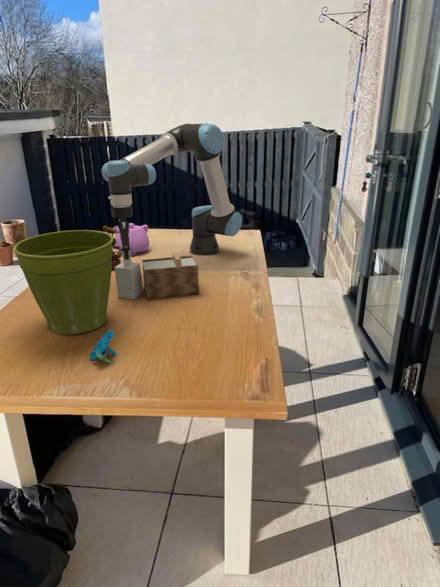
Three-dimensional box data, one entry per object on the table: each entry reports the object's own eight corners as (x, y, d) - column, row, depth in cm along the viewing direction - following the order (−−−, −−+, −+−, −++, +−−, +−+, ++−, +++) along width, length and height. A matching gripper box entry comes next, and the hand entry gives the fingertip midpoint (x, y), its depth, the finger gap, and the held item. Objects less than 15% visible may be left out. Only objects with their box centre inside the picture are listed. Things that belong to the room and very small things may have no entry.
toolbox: (192, 282, 178) (191, 255, 173) (198, 294, 166) (197, 265, 161) (144, 287, 173) (142, 259, 168) (147, 299, 161) (145, 270, 157)
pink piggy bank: (133, 243, 234) (130, 216, 228) (159, 249, 223) (157, 221, 218) (105, 252, 220) (102, 223, 214) (132, 259, 209) (129, 229, 203)
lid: (192, 260, 173) (191, 250, 171) (197, 268, 163) (197, 258, 161) (142, 264, 168) (141, 254, 166) (145, 273, 158) (144, 263, 157)
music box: (126, 263, 203) (121, 222, 193) (122, 272, 193) (117, 230, 184) (94, 263, 202) (88, 223, 193) (89, 273, 192) (82, 231, 183)
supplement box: (143, 293, 168) (140, 262, 163) (134, 300, 161) (131, 268, 157) (127, 290, 170) (124, 261, 165) (117, 297, 164) (113, 266, 159)
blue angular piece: (92, 342, 128) (112, 322, 124) (108, 353, 130) (128, 333, 127) (83, 366, 118) (105, 345, 115) (100, 377, 120) (122, 357, 117)
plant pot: (116, 300, 161) (107, 226, 150) (128, 335, 135) (119, 249, 124) (32, 312, 152) (16, 234, 141) (28, 352, 126) (8, 260, 115)
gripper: (110, 200, 163) (115, 253, 171) (111, 212, 140) (117, 273, 148) (130, 199, 164) (134, 252, 172) (134, 211, 142) (139, 271, 150)
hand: (126, 261), depth 160 cm, fingers open, 13 cm apart
